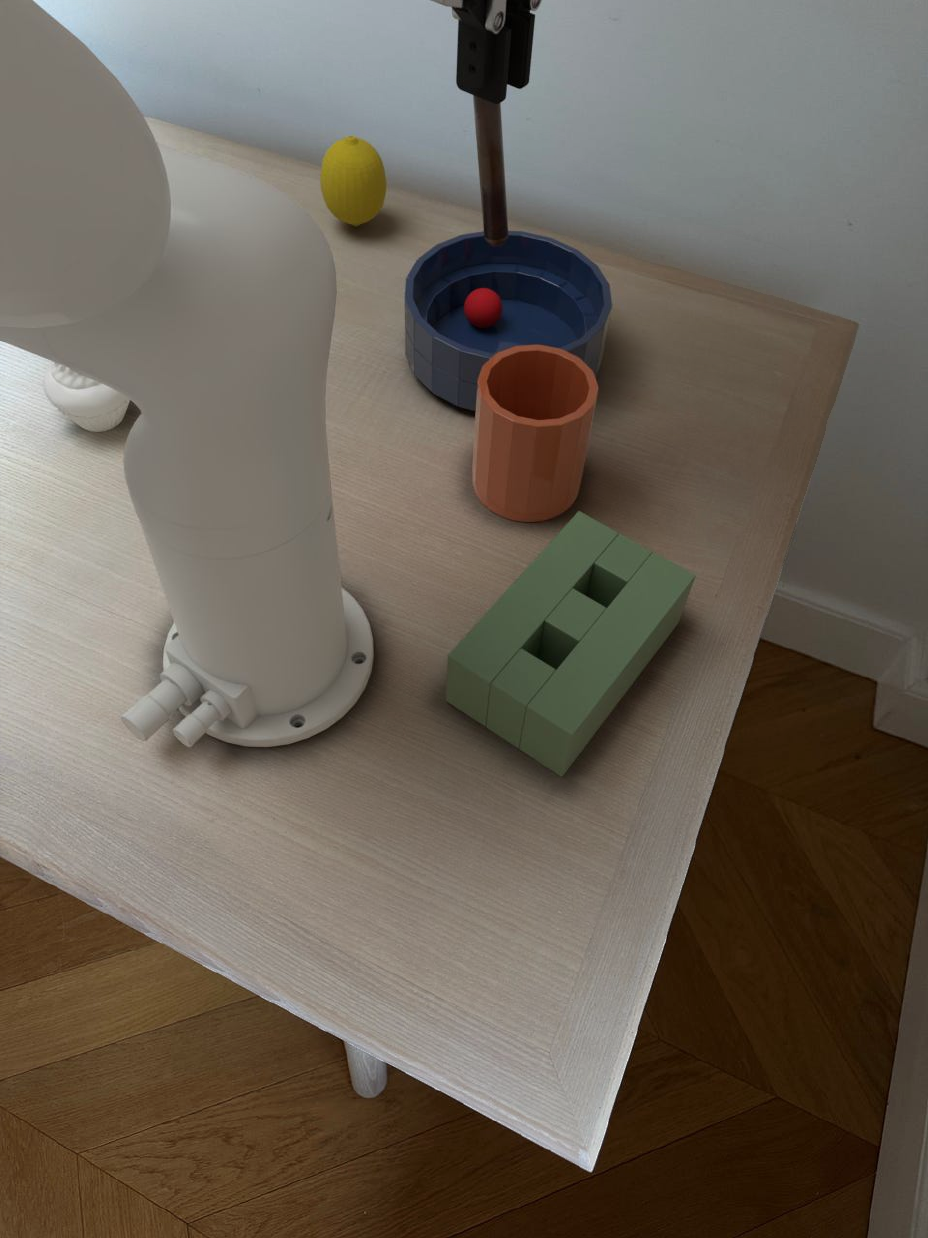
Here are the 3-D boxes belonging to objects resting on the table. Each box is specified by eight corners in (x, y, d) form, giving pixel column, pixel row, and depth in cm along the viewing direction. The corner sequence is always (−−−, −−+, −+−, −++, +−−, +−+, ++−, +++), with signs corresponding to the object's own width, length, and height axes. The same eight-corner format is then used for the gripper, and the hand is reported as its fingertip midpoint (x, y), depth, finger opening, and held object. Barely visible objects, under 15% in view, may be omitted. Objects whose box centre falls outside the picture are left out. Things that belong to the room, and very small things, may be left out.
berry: (492, 340, 79) (458, 322, 78) (488, 326, 81) (455, 309, 80) (511, 306, 77) (477, 288, 76) (507, 293, 80) (474, 275, 79)
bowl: (528, 453, 73) (536, 390, 68) (366, 365, 78) (362, 300, 73) (635, 345, 80) (649, 281, 75) (481, 271, 85) (484, 206, 80)
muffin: (48, 403, 74) (17, 325, 68) (129, 378, 76) (106, 301, 70) (71, 458, 71) (41, 381, 65) (155, 431, 73) (133, 354, 67)
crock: (540, 539, 68) (555, 443, 61) (450, 488, 71) (454, 390, 63) (599, 475, 72) (620, 377, 65) (512, 428, 74) (522, 329, 67)
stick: (500, 253, 66) (482, -17, 54) (480, 248, 66) (457, -21, 55) (513, 242, 67) (498, -27, 55) (493, 237, 67) (474, -30, 56)
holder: (678, 622, 65) (696, 575, 60) (561, 777, 58) (572, 735, 54) (569, 559, 67) (578, 510, 63) (445, 701, 61) (447, 655, 56)
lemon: (391, 209, 90) (389, 121, 83) (382, 246, 87) (379, 158, 80) (330, 204, 90) (323, 116, 83) (318, 240, 87) (310, 152, 80)
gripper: (485, -288, 39) (464, 165, 54) (681, -352, 47) (616, 59, 62) (337, -326, 41) (356, 118, 56) (547, -381, 49) (515, 22, 64)
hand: (492, 85), depth 59 cm, fingers closed on stick, 1 cm apart
